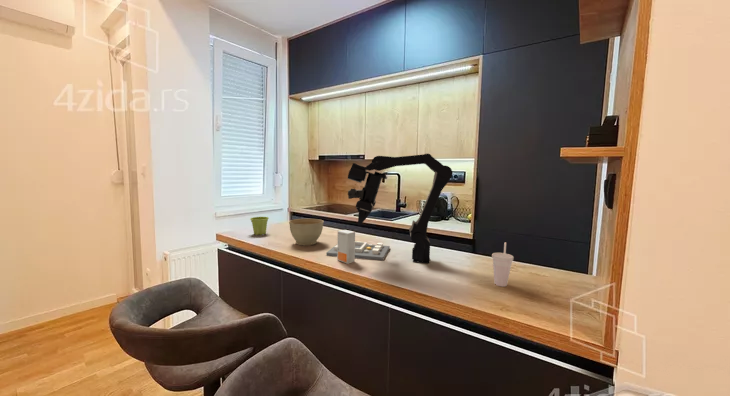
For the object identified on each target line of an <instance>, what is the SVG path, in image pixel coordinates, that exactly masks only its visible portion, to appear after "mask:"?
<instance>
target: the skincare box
mask: <svg viewBox="0 0 730 396" xmlns="http://www.w3.org/2000/svg"><path fill="white" fill-rule="evenodd" d="M355 241H356V231H352V230H347V229H341V230H337V243H336V245H337V256H336V260H337V261H339V262H342V263H345V264H346V265H348V264H351V263H354V262H355V260H356V258H355Z"/></svg>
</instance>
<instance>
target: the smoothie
mask: <svg viewBox="0 0 730 396" xmlns="http://www.w3.org/2000/svg"><path fill="white" fill-rule="evenodd" d="M491 258H492V263H493V264H492V265H493V281H494V282H493V284H494V285H495V284H496V285H495V286H498V287H503V288H504V287H507V286H508V282H509V277H510V274H511V273H510V272H511V267H512V263H513V261H514V255H512V254H509V253H507V242H504V244H503V252H493V253H492V254H491Z"/></svg>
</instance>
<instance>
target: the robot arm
mask: <svg viewBox="0 0 730 396" xmlns="http://www.w3.org/2000/svg"><path fill="white" fill-rule="evenodd" d="M412 165H413V166H414V165H426V166H427V167H428V168H429V169H430V170H431V171H432V172H433V173H434V175H433V180H432V185H431V188H430V191H429V194H428V196H427V198H426V201H425V202H424V205H423V208H422V210H421V212H420V215H419V217H418V218H417V220H416V221H415V220H412V223H411V225H410V227H409V229H408V230H409V236H410V239H411V241H412V243H414V245H413V247H412V251H411V253H412V254H411V260H412V262H413V263H421V264H422V263H424V264H430V262H431V259H430V258H431V257H430V256H431V244H432V243H431V241H430V239H429V237H428V236H427V232H428V224H429V221H430V219H431V217H432V215H433V212H434V209H435V207H436V205H437V203H438V200H439V199H440V196H441V193H442V191H443V189H444V188H445V187H446V185H447V184H448V183H449V181H450V179H452V176H453V169H452V168H451V167H450V166H449V165H443V163H441V162H440V161H438V160H437V159H436V158H435V157H433V155H431V154H430V153H424V154H416V155H415V154H414V155H404V156H389V155H388V156H387V155H386V156H385V155H376V156H374V157H373V158H372V160H371V163H369V164H368V165H366V166H363V165H360V164H358V163H355V162H353V163H352V165H351V167H350V168H349V169H350V170H348V174H347V180H350V181H354V182H357V183H362V182H365V184H364V186H363V187H362V189H356V188H350V189H349V190H348V191H347V198H348V199H359V200H358V201H356V204H355V209H356V210H357V212H358V216H357V218H358V219H357V226H362V224H364V221H365V220H366V219H367V218H368V217H369V215H370V214H371V213H372V211H373V209H374V208H375V206H376V202H377V201H376V198H377V195H378V193H379V189H380V185H381V183H382V179H384V180H387V179H388V177H387V175H386V172H379V171H383V170H387V169H391V168H394V167H403V166H412ZM374 170H375V171H374ZM370 171H374V173H373V172H370ZM367 174H368V175H367Z"/></svg>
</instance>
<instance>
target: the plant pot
mask: <svg viewBox="0 0 730 396" xmlns="http://www.w3.org/2000/svg"><path fill="white" fill-rule="evenodd" d="M269 219H270V218H269V217H268V216H254V217H250V218H249V220H250V221H251V226H252V230H253V235H255V236H259V235H260V236H262V234H263V235H266V233H267V229H268V228H267V227H268V220H269Z"/></svg>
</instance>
